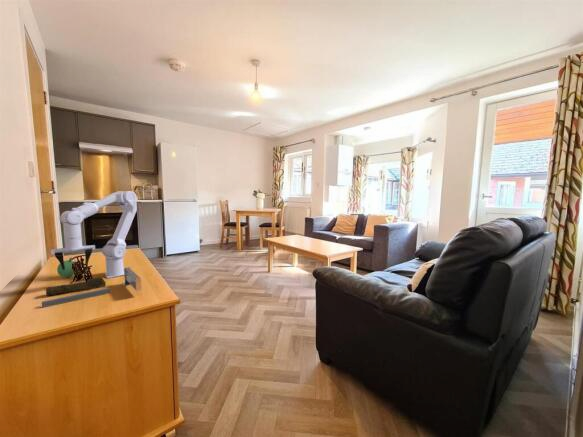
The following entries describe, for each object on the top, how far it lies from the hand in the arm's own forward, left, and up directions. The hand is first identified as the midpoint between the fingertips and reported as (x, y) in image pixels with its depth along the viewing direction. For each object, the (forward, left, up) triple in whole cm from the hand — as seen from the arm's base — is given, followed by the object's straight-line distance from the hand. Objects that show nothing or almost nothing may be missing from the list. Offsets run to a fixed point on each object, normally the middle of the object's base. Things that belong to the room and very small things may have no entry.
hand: (75, 267), depth 109 cm
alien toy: (-19, -3, -9) cm, 21 cm away
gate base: (+13, +18, -8) cm, 23 cm away
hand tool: (+8, 0, -9) cm, 12 cm away
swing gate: (+22, +18, -8) cm, 30 cm away
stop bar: (+19, 0, -8) cm, 21 cm away
